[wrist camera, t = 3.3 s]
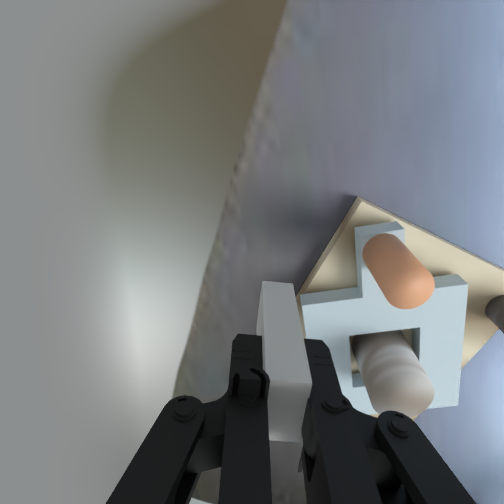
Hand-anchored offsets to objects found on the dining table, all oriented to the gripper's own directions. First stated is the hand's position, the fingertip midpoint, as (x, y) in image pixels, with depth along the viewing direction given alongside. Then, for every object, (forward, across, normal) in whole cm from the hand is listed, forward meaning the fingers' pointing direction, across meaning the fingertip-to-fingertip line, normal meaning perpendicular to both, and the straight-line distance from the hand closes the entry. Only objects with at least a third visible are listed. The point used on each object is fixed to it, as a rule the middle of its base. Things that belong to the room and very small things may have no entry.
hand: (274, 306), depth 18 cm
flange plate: (+9, +10, -6) cm, 15 cm away
